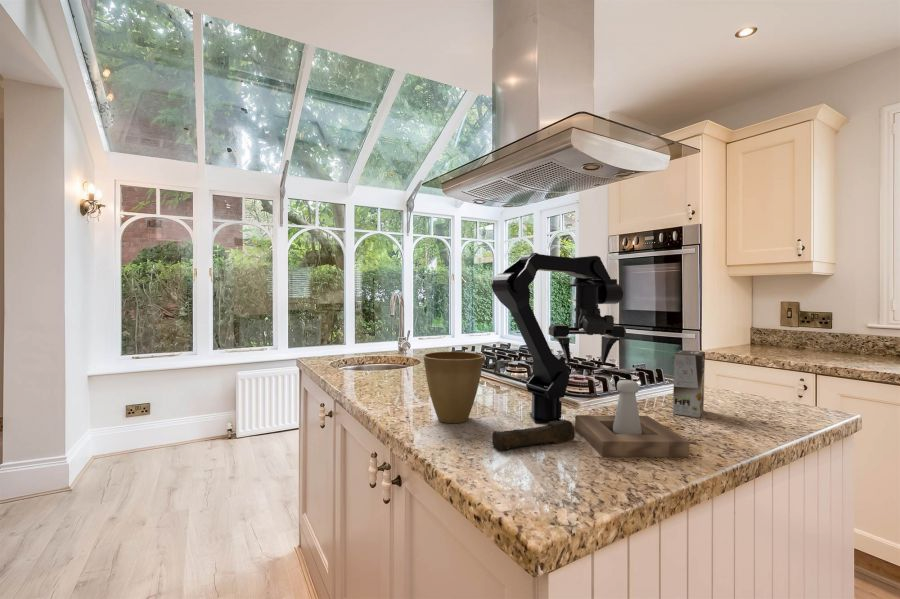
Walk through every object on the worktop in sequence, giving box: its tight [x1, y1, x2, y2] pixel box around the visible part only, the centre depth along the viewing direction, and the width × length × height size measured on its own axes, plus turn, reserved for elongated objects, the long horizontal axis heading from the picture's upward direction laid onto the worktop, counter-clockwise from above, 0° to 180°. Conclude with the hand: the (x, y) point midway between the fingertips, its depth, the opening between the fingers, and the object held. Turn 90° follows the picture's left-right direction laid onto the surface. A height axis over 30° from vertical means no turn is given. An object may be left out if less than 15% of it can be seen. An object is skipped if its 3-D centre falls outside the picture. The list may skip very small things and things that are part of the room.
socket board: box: [574, 414, 691, 458], centre depth 90 cm, size 17×17×3 cm
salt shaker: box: [613, 379, 642, 435], centre depth 90 cm, size 6×6×13 cm
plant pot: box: [423, 351, 485, 424], centre depth 105 cm, size 15×15×16 cm
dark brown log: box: [491, 419, 575, 452], centre depth 88 cm, size 19×4×5 cm, turn 108°
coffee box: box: [672, 349, 706, 419], centre depth 112 cm, size 9×6×16 cm
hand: (585, 363), depth 111 cm, fingers open, 9 cm apart
